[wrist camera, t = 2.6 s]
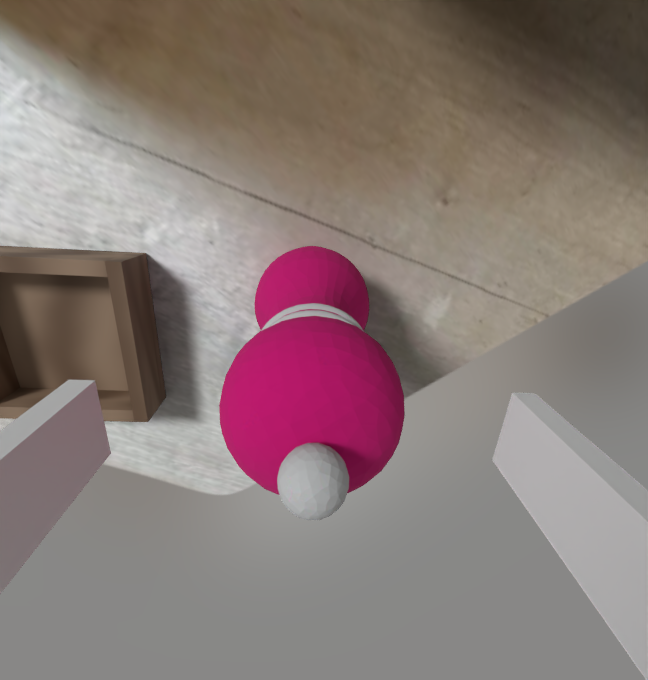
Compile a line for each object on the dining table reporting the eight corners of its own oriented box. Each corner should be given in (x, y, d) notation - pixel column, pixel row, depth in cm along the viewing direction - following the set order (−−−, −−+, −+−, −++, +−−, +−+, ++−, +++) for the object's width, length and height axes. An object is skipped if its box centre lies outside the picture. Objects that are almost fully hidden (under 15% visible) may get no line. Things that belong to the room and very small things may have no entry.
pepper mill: (373, 312, 27) (504, 561, 9) (289, 345, 28) (245, 638, 10) (338, 222, 24) (421, 305, 6) (247, 262, 25) (73, 445, 7)
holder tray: (145, 253, 25) (121, 261, 22) (165, 396, 29) (148, 421, 26) (-31, 244, 24) (-84, 251, 21) (18, 392, 29) (-19, 417, 26)
